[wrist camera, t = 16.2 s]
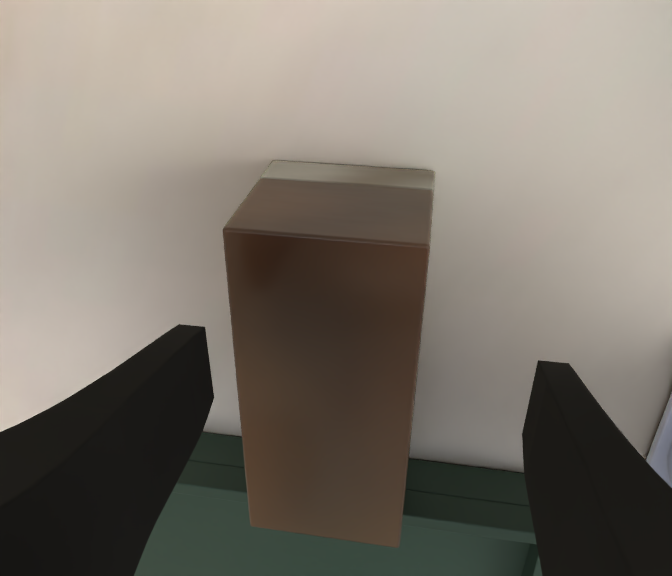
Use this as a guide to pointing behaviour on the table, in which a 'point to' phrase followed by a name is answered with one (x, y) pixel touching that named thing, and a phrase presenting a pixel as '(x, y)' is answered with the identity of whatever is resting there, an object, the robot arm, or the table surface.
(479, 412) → the table surface
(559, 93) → the table surface
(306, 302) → the eraser
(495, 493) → the tray
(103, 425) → the robot arm
